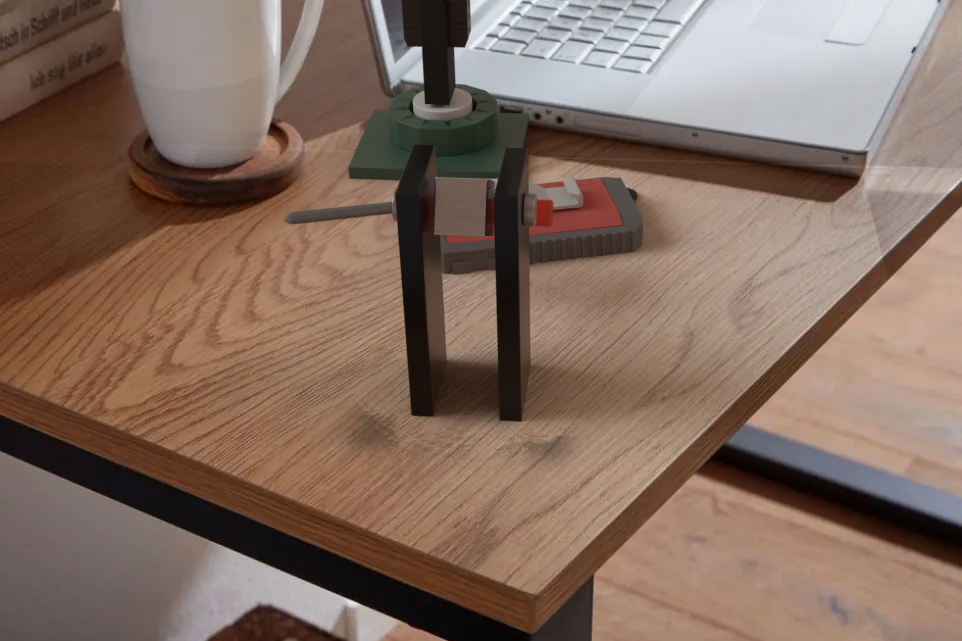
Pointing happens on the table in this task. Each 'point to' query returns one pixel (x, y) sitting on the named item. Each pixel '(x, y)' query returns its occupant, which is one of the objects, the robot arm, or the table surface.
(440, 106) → the button
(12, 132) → the table surface
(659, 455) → the table surface
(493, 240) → the walkie-talkie
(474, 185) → the lever
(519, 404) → the bracket
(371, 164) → the switch box
